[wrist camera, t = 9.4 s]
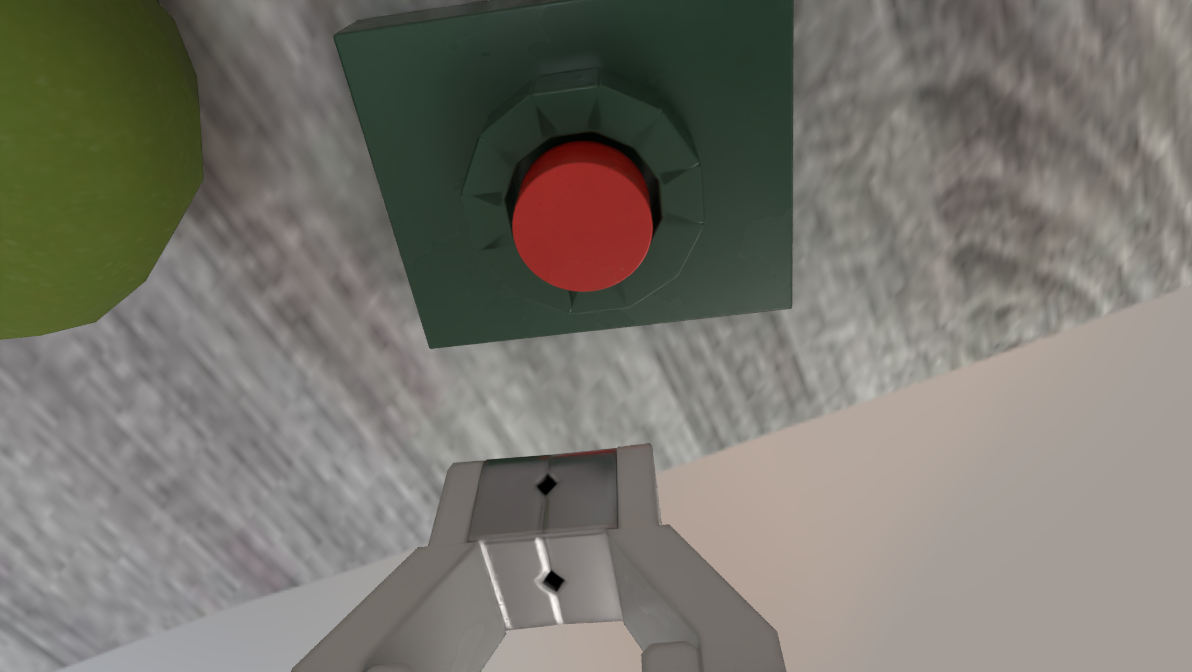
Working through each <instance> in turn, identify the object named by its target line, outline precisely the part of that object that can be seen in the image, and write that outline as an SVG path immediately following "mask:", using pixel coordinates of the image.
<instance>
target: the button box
mask: <svg viewBox="0 0 1192 672" xmlns="http://www.w3.org/2000/svg"><path fill="white" fill-rule="evenodd" d="M793 16H794V0H489V1H482V2H475V3H469V4H462V5H455V6H449V7H442V8H435V9H429V10H422V11H415V12H409V13H402V14H396V15H389V16H382V17H376V18H369V19H362V20H357V21H355V22H354V23H352V24H350V25H349V26H347V27H346V28H344V29H342V30H341V31H339V32H337V33H336V34H334V41H335V44H336V47H337V50H338V54H339V57H340V60H341V63H342V67H343V70H344V73H345V76H346V80H347V83H348V86H349V89H350V92H351V96H352V99H353V102H354V105H355V109H356V112H357V115H358V118H359V122H360V125H361V128H362V131H363V135H364V138H365V141H366V144H367V148H368V151H369V154H370V157H371V161H372V164H373V167H374V170H375V174H376V177H377V180H378V183H379V186H380V190H381V193H382V196H383V199H384V203H385V206H386V209H387V212H388V216H389V219H390V222H391V225H392V229H393V232H394V235H395V238H396V242H397V245H398V248H399V251H400V255H401V258H402V261H403V264H404V268H405V271H406V274H407V277H408V280H409V284H410V287H411V290H412V293H413V297H414V300H415V303H416V306H417V310H418V313H419V316H420V319H421V323H422V326H423V329H424V332H425V336H426V339H427V342H428V345H429V348H430V349H434V348H443V347H452V346H461V345H470V344H479V343H488V342H497V341H506V340H515V339H524V338H533V337H542V336H551V335H560V334H568V333H577V332H586V331H595V330H604V329H613V328H622V327H631V326H640V325H649V324H658V323H667V322H676V321H685V320H694V319H703V318H712V317H721V316H730V315H739V314H748V313H757V312H766V311H775V310H784V309H791V308H792V244H793ZM572 141H594V142H599V143H603V144H606V145H609V146H611V147H613V148H615V149H617V150H619V151H620V152H622V153H623V154H625V155H626V156H627V157H628V158H629V159H631V160H632V161H633V163H634V164H635V165H636V166H637V167H638V169H639V170H640V172H641V173H642V175H643V177H644V179H645V182H646V185H647V188H648V193H649V199H650V206H651V214H652V221H653V232H652V240H651V244H650V247H649V250H648V252H647V254H646V256H645V258H644V260H643V261H642V263H641V264H640V265H639V266H638V268H637V269H636V270H635V271H634V272H633V273H632V274H631V275H629V276H628V277H627V278H625V279H624V280H622V281H621V282H619V283H617V284H615V285H613V286H611V287H608V288H605V289H601V290H596V291H587V292H580V291H571V290H565V289H562V288H559V287H556V286H554V285H551V284H549V283H548V282H546V281H544V280H542V279H541V278H540V277H538V276H537V275H536V274H535V273H534V272H533V271H531V270H530V269H529V267H528V266H527V265H526V264H525V263H524V261H523V260H522V258H521V256H520V255H519V253H518V250H517V248H516V245H515V242H514V238H513V232H512V220H513V213H514V209H515V205H516V202H517V198H518V194H519V190H520V187H521V183H522V180H523V178H524V176H525V174H526V172H527V171H528V169H529V167H530V166H531V165H532V164H533V163H534V161H535V160H536V159H537V158H538V157H540V156H541V155H542V154H543V153H545V152H546V151H548V150H549V149H551V148H553V147H555V146H558V145H561V144H563V143H567V142H572Z"/></svg>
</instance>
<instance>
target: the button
mask: <svg viewBox="0 0 1192 672" xmlns="http://www.w3.org/2000/svg"><path fill="white" fill-rule="evenodd" d="M512 232H513V238H514V242H515V245H516V248H517V250H518V253H519V255H520V256H521V258H522V260H523V261H524V263H525V264H526V265H527V266H528V267H529V269H530V270H531V271H533V272H534V273H535V274H536V275H537V276H538V277H540V278H541V279H542V280H544V281H546V282H548V283H549V284H551V285H554V286H556V287H559V288H562V289H565V290H571V291H580V292H587V291H596V290H601V289H605V288H608V287H611V286H613V285H615V284H617V283H619V282H621V281H622V280H624V279H625V278H627V277H628V276H629V275H631V274H632V273H633V272H634V271H635V270H636V269H637V268H638V266H639V265H640V264H641V263H642V261H643V260H644V258H645V256H646V254H647V252H648V250H649V247H650V244H651V240H652V232H653V221H652V214H651V206H650V199H649V193H648V188H647V185H646V182H645V179H644V177H643V175H642V173H641V172H640V170H639V169H638V167H637V166H636V165H635V164H634V163H633V161H632V160H631V159H629V158H628V157H627V156H626V155H625V154H623V153H622V152H620V151H619V150H617V149H615V148H613V147H611V146H609V145H606V144H603V143H599V142H594V141H572V142H567V143H563V144H561V145H558V146H555V147H553V148H551V149H549V150H548V151H546V152H545V153H543V154H542V155H541V156H540V157H538V158H537V159H536V160H535V161H534V163H533V164H532V165H531V166H530V167H529V169H528V171H527V172H526V174H525V176H524V178H523V180H522V183H521V187H520V190H519V194H518V198H517V202H516V205H515V209H514V213H513V220H512Z"/></svg>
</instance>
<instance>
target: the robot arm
mask: <svg viewBox="0 0 1192 672" xmlns="http://www.w3.org/2000/svg"><path fill="white" fill-rule="evenodd" d="M613 621H623V622H624V625H625V626H626V628H627V629H628V631H629V632H630V633H631V635H632V636H633V638H634V639H635V641H636V642H637V644H638V645H639V646H640V648H641V649H642V651H643V653H642V655H641V656H642V672H786V668H785V664H784V660H783V655H782V651H781V647H780V642H779V638H778V633H777V631H776V630H775V629H774V628H773V627H772V626H771V625H770V624H769V623H768V622H767V621H766V620H765V619H764V618H763V617H762V616H761V615H760V614H759V613H758V612H757V611H756V610H755V609H754V608H753V607H752V606H751V605H750V604H749V603H748V602H747V601H746V600H745V599H744V598H743V597H742V596H741V595H740V594H739V593H738V592H737V591H735V589H734V588H733V587H732V586H731V585H730V584H729V583H728V582H727V581H725V579H724V578H722V576H720V574H719V573H718V572H717V571H716V570H715V569H714V568H713V567H711V565H710V564H709V563H707V562H706V560H704V559H703V558H702V557H701V556H700V555H699V554H698V553H697V552H696V551H695V550H694V549H693V548H692V547H691V546H690V545H689V544H688V543H687V542H686V541H685V540H684V539H683V538H682V537H681V536H680V535H679V534H678V533H677V532H676V531H675V530H674V529H673V528H672V527H671V526H670V525H662V522H661V513H660V506H659V498H658V490H657V481H656V473H655V465H654V457H653V449H652V445H651V444H650V443H647V444H639V445H630V446H622V447H618V448H610V449H601V450H592V451H582V452H573V453H563V454H554V455H542V456H529V457H515V458H502V459H489V460H486V461H471V462H458V463H453V464H452V465H451V467H450V468H449V469H448V471H447V475H446V479H445V483H444V486H443V490H442V494H441V498H440V502H439V506H438V509H437V513H436V517H435V521H434V525H433V529H432V532H431V536H430V540H429V544H428V546H426V547H418V548H417V549H416V550H415V551H414V552H413V553H412V554H411V555H410V556H409V557H407V558H406V560H404V561H403V562H402V563H401V564H400V565H399V566H398V567H397V568H396V569H395V570H394V571H393V572H392V573H391V574H390V575H389V576H388V577H387V578H386V579H385V580H384V581H383V582H382V583H380V584H379V585H378V586H377V587H376V588H375V590H373V591H372V592H371V593H370V594H369V595H368V596H367V597H366V598H365V599H364V600H363V601H362V602H361V603H360V604H359V605H358V606H357V607H356V608H355V609H354V610H353V611H352V612H350V613H349V614H348V615H347V616H346V617H345V618H344V619H343V620H342V621H341V622H340V623H339V624H338V625H337V626H336V627H335V628H334V629H333V630H332V631H331V632H330V633H329V634H328V635H327V636H325V638H323V639H322V640H321V641H320V642H319V643H318V644H317V645H316V646H315V647H314V648H313V649H312V650H311V651H310V652H309V653H308V654H307V655H306V656H305V657H304V658H303V659H302V660H301V661H300V662H299V663H298V664H296V665H295V666H294V667H293V668H292V670H291V672H481V670H482V669H483V668H484V666H485V665H486V663H487V662H488V660H489V659H490V657H491V656H492V654H493V653H494V652H495V650H496V649H497V647H498V646H499V644H500V643H501V641H502V640H503V638H504V637H505V635H506V632H505V631H506V630H514V629H524V628H533V627H543V626H552V625H561V624H575V623H593V622H613Z"/></svg>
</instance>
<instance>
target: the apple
mask: <svg viewBox="0 0 1192 672" xmlns="http://www.w3.org/2000/svg"><path fill="white" fill-rule="evenodd" d="M203 179H204V176H203V159H202V142H201V125H200V108H199V97H198V85H197V75H196V73H195V70H194V68H193V65H192V63H191V61H190V58H189V56H188V53H187V51H186V48H185V46H184V43H183V41H182V38H181V36H180V33H179V31H178V29H177V26H176V24H175V21H174V19H173V18H172V17H171V16H170V15H169V14H168V13H167V12H166V10H165V9H164V8H163V7H162V6H161V5H160V4H159V3H158V1H157V0H0V340H2V339H11V338H21V337H31V336H41V335H45V334H49V333H53V332H57V331H61V330H66V329H70V328H74V327H78V326H82V325H86V324H90V323H94V322H96V321H98V320H99V319H100V318H101V317H102V316H104V315H105V314H106V313H107V312H109V311H110V310H111V309H112V308H113V307H115V306H116V305H117V304H118V303H119V302H121V301H122V300H123V299H124V298H126V297H127V296H128V295H129V294H130V293H132V292H133V291H134V290H135V289H137V288H138V287H139V286H140V285H141V284H143V283H144V282H145V281H146V280H147V278H148V276H149V274H150V273H151V271H152V269H153V267H154V266H155V264H156V262H157V261H158V259H159V257H160V255H161V254H162V252H163V250H164V249H165V247H166V245H167V243H168V242H169V240H170V238H171V237H172V235H173V233H174V231H175V230H176V228H177V226H178V224H179V222H180V221H181V219H182V217H183V215H184V214H185V212H186V210H187V208H188V206H189V205H190V203H191V201H192V199H193V197H194V196H195V194H196V192H197V190H198V188H199V187H200V185H201V183H202V181H203Z"/></svg>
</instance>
